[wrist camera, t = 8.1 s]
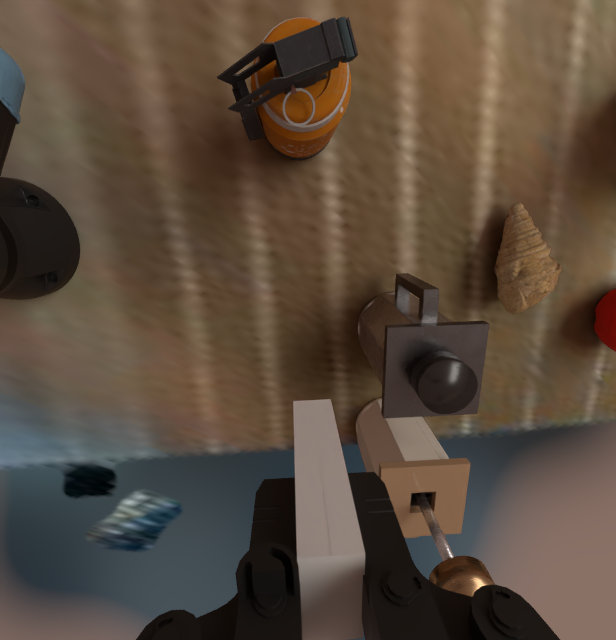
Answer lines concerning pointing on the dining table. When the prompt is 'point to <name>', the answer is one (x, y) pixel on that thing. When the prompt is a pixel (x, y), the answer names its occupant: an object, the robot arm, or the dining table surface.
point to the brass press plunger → (451, 558)
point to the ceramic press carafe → (413, 469)
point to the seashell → (523, 263)
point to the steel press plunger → (444, 382)
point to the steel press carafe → (415, 343)
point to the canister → (296, 85)
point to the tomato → (606, 319)
